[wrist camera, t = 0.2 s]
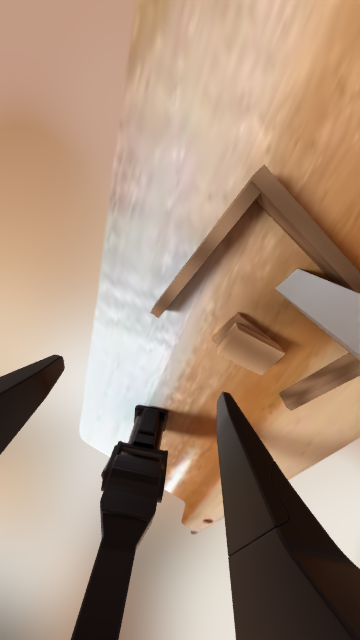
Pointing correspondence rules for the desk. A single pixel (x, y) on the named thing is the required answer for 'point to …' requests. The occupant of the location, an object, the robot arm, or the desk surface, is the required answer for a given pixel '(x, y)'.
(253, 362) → the offcut upper
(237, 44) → the desk surface
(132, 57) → the desk surface
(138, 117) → the desk surface
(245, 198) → the wooden frame
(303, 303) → the tall board
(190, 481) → the desk surface
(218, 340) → the offcut lower
